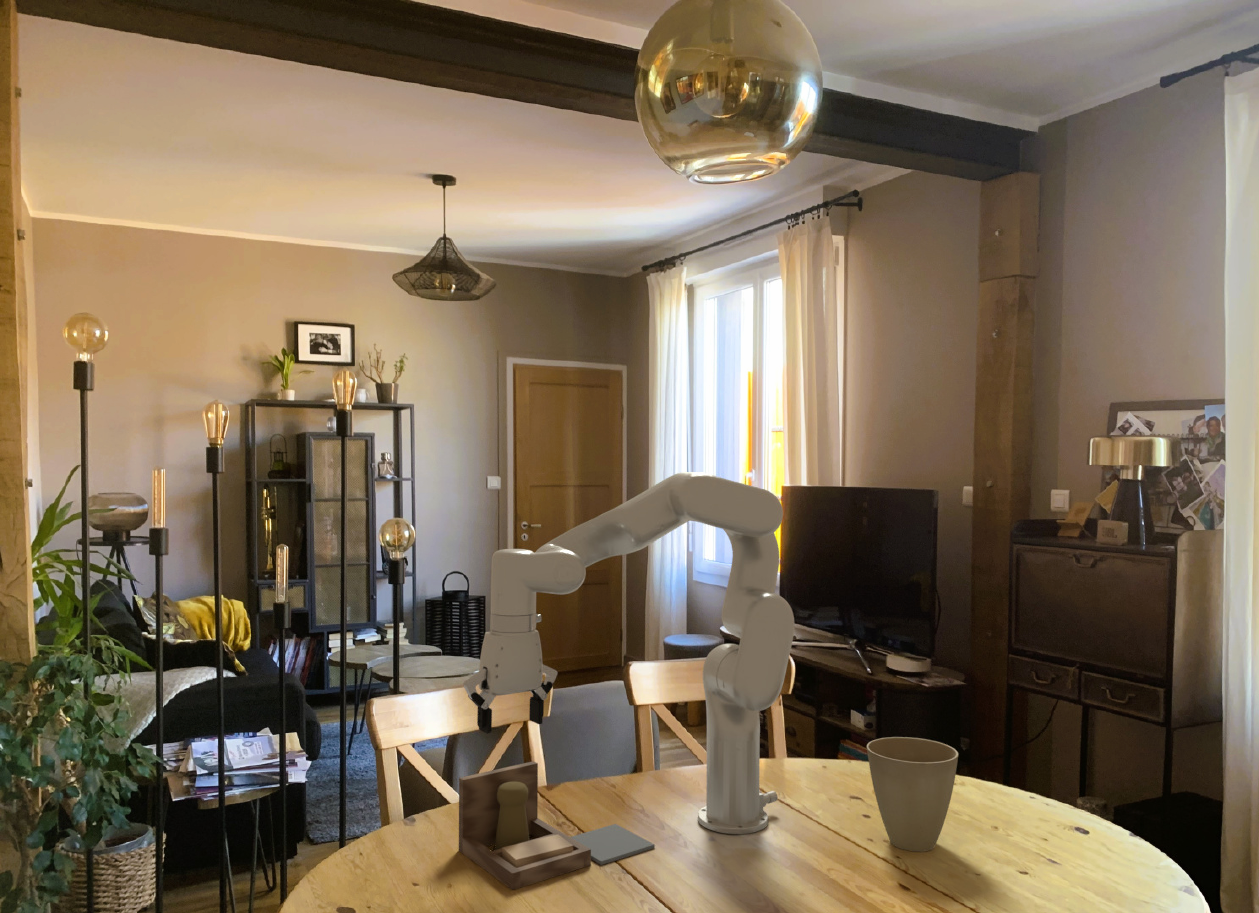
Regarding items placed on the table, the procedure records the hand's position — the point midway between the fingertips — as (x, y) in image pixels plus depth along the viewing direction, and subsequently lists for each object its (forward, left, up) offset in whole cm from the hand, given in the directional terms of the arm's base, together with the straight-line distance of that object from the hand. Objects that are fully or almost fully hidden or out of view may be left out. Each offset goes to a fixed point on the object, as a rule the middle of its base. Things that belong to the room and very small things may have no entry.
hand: (510, 726), depth 151 cm
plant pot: (-56, +38, -21) cm, 71 cm away
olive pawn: (0, 0, -21) cm, 21 cm away
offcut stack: (0, +8, -21) cm, 22 cm away
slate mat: (-14, +8, -21) cm, 26 cm away
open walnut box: (0, +4, -20) cm, 21 cm away
